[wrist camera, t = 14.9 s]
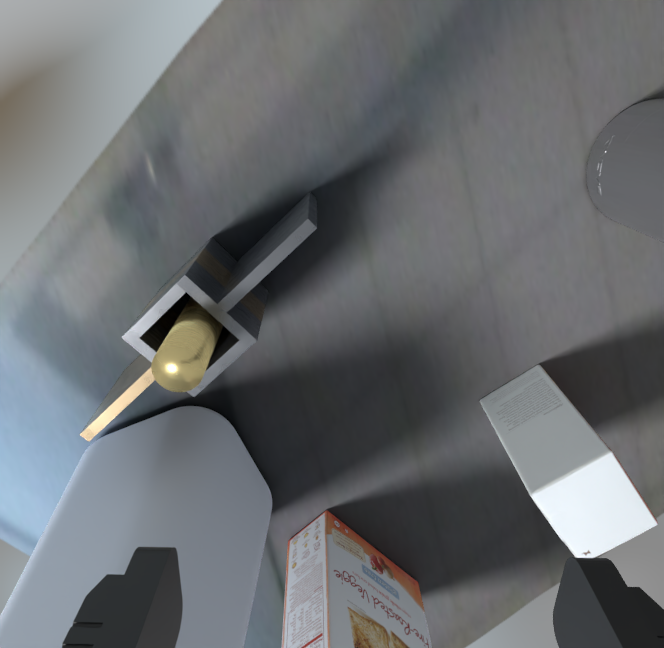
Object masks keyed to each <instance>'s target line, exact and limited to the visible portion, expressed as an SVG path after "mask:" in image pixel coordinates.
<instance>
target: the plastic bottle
mask: <svg viewBox="0 0 664 648" xmlns="http://www.w3.org/2000/svg"><path fill="white" fill-rule="evenodd" d="M271 511H272V496H271V492H270V489H269V487H268V485H267V483H266V482H265V480H264V478H263V477H262V475H261V473H260V471H259V470H258V468H257V466H256V465H255V463H254V461H253V459H252V458H251V456H250V454H249V453H248V451H247V449H246V447H245V446H244V444H243V442H242V441H241V439H240V437H239V435H238V434H237V432H236V430H235V429H234V427H233V426H232V425H231V423H230V422H229V421H228V420H227V419H226V418H224V417H223V416H222V415H220V414H219V413H217V412H215V411H213V410H210V409H208V408H204V407H199V406H183V407H178V408H175V409H172V410H169V411H167V412H164V413H162V414H159V415H156V416H154V417H151V418H149V419H146V420H144V421H141V422H138V423H136V424H133V425H131V426H128V427H126V428H123V429H121V430H118V431H115V432H113V433H110V434H108V435H105V436H103V437H101V438H99V439H97V440H96V441H95V442H93V443H92V444H91V445H90V446H89V447H88V448H87V449H86V451H85V452H84V454H83V456H82V458H81V460H80V462H79V463H78V465H77V467H76V469H75V471H74V473H73V475H72V477H71V479H70V481H69V483H68V485H67V487H66V489H65V491H64V493H63V495H62V497H61V499H60V501H59V502H58V504H57V506H56V508H55V510H54V512H53V514H52V516H51V518H50V520H49V522H48V524H47V526H46V528H45V530H44V532H43V534H42V536H41V538H40V540H39V541H38V543H37V545H36V547H35V549H34V551H33V553H32V555H31V557H30V559H29V561H28V563H27V565H26V567H25V569H24V571H23V573H22V575H21V577H20V579H19V581H18V583H17V584H16V586H15V589H14V590H13V592H12V594H11V596H10V598H9V600H8V602H7V604H6V606H5V608H4V610H3V612H2V614H1V616H0V648H62V643H63V641H64V639H65V637H66V635H67V633H68V631H69V629H70V627H72V626H73V621H74V619H75V617H76V615H77V613H78V611H79V609H80V607H81V605H82V603H83V601H84V599H85V597H86V595H87V594H88V593H89V592H90V591H91V590H92V589H93V588H94V587H95V586H96V585H97V584H98V583H99V582H100V581H101V580H102V579H103V578H104V577H105V576H106V575H107V574H121V575H124V574H125V572H126V569H127V567H128V565H129V562H130V560H131V558H132V556H133V553H134V551H135V550H136V549H137V548H138V547H175V548H176V550H177V554H178V562H179V571H180V581H181V590H182V599H183V611H182V620H181V626H180V631H179V635H178V639H177V642H176V646H175V648H244V643H245V638H246V633H247V628H248V623H249V618H250V613H251V609H252V604H253V599H254V594H255V589H256V584H257V579H258V575H259V570H260V565H261V560H262V555H263V550H264V545H265V540H266V536H267V531H268V526H269V521H270V516H271Z"/></svg>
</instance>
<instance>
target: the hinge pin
mask: <svg viewBox="0 0 664 648" xmlns="http://www.w3.org/2000/svg"><path fill="white" fill-rule="evenodd" d="M222 328H223V325H222V324H221V323H220V322H219V321H218V320H217V319H216V318H214V317H213V316H212V315H211V314H210V313H209V312H208V311H207V310H206V309H204V308H203V307H202V306H201V305H200V304H199V303H198V302H197V301H196V300H194V299H193V298H192V297H190V299H189V301H188V302H187V304H186V306H185V307H184V309H183V310H182V312H181V314H180V315H179V317H178V319H177V320H176V322H175V323H174V325H173V327H172V328H171V330H170V332H169V333H168V335H167V337H166V338H165V340H164V341H163V343H162V345H161V346H160V348H159V350H158V351H157V353H156V354H155V356H154V358H153V360H152V364H151V370H152V374H153V376H154V378H155V380H156V381H157V382H158V383H159V384H160V385H161V386H162V387H164V388H166V389H168V390H170V391H174V392H186V391H190V390H192V389H194V388H195V387H196V386H198V385H199V383H200V382H201V380H202V378H203V376H204V373H205V371H206V368H207V366H208V363H209V361H210V358H211V356H212V353H213V351H214V348H215V346H216V343H217V341H218V338H219V335H220V333H221V330H222Z"/></svg>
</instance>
